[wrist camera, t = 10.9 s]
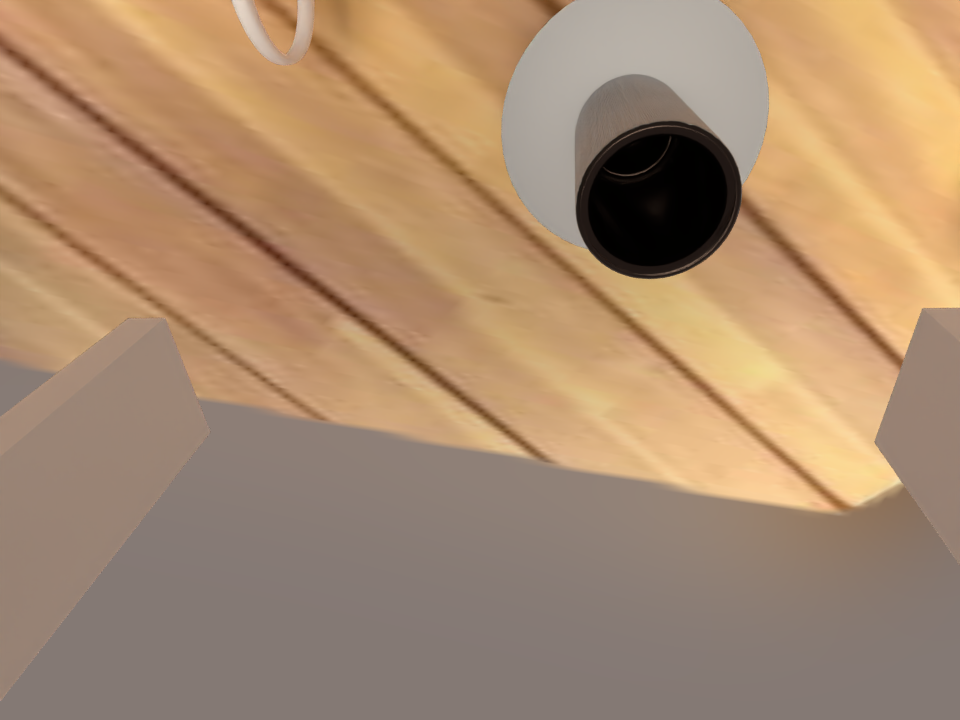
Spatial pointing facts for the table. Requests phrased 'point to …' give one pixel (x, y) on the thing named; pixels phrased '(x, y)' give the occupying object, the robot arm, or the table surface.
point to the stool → (616, 52)
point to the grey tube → (651, 180)
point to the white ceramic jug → (261, 39)
